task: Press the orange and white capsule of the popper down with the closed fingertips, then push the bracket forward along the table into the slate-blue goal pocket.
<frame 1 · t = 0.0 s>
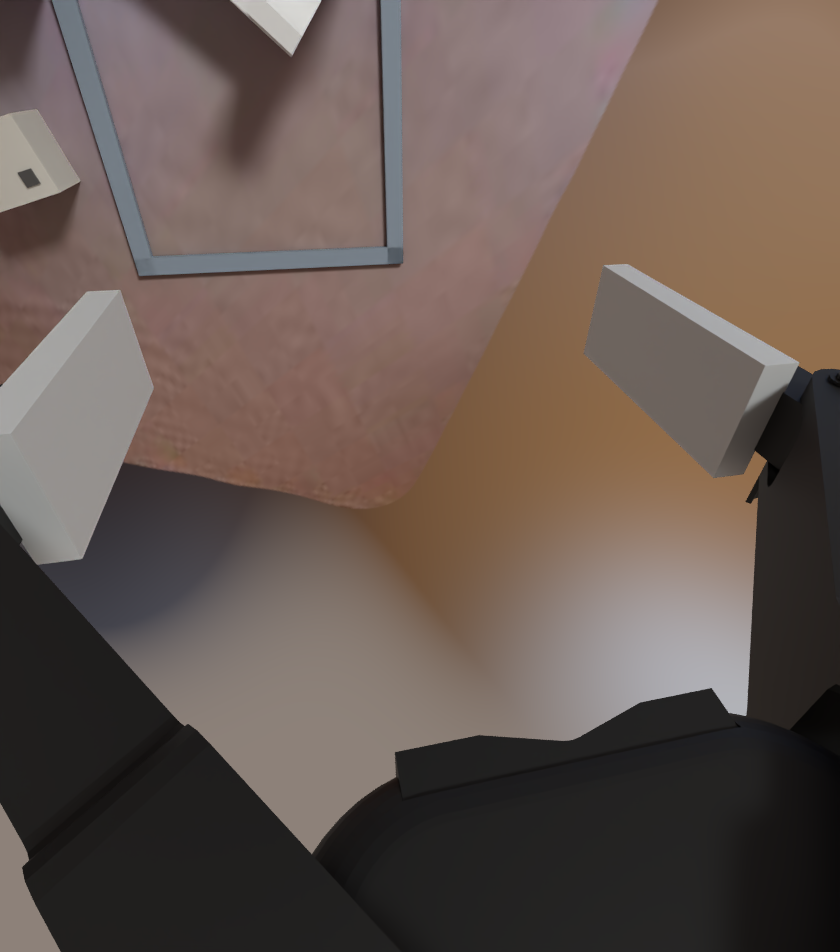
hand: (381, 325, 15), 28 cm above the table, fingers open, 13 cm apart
goal pocket: (253, 117, 33), on the table
die: (30, 156, 33), on the table
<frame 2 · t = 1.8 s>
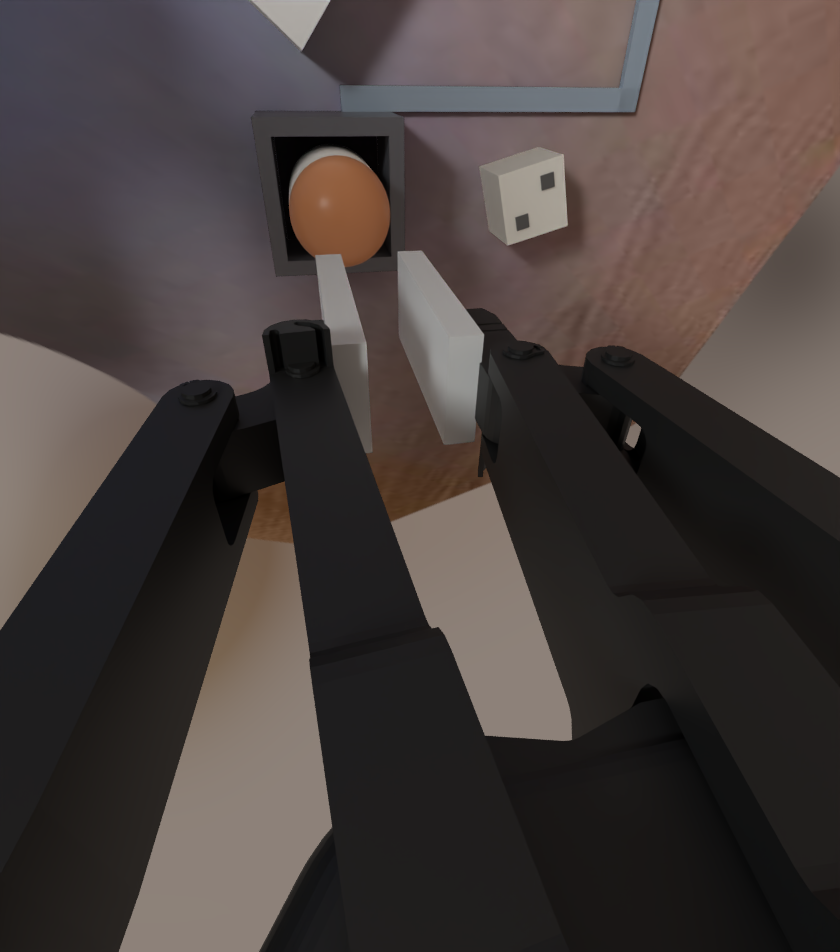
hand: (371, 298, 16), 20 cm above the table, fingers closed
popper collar: (330, 185, 32), on the table
die: (512, 190, 34), on the table
orange and white capsule: (338, 208, 27), point 7 cm above the table, slide at 0.0 cm
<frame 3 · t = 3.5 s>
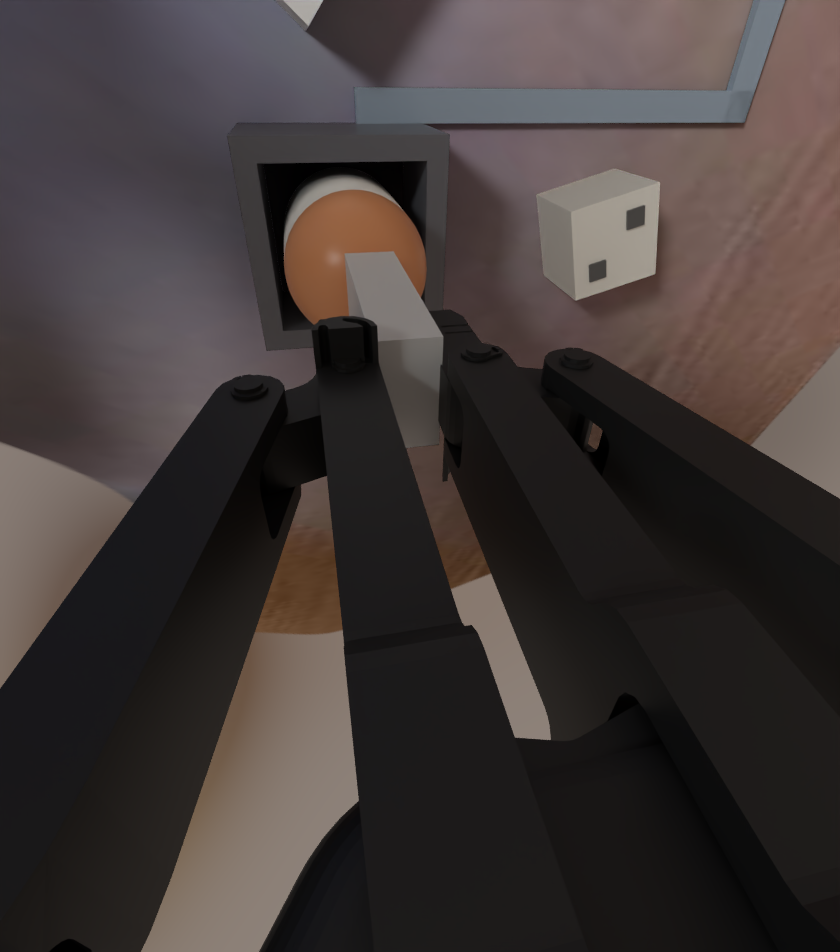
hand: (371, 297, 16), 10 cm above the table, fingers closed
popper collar: (339, 222, 24), on the table
die: (576, 224, 26), on the table
orange and white capsule: (352, 258, 19), point 6 cm above the table, slide at 0.8 cm, touching gripper
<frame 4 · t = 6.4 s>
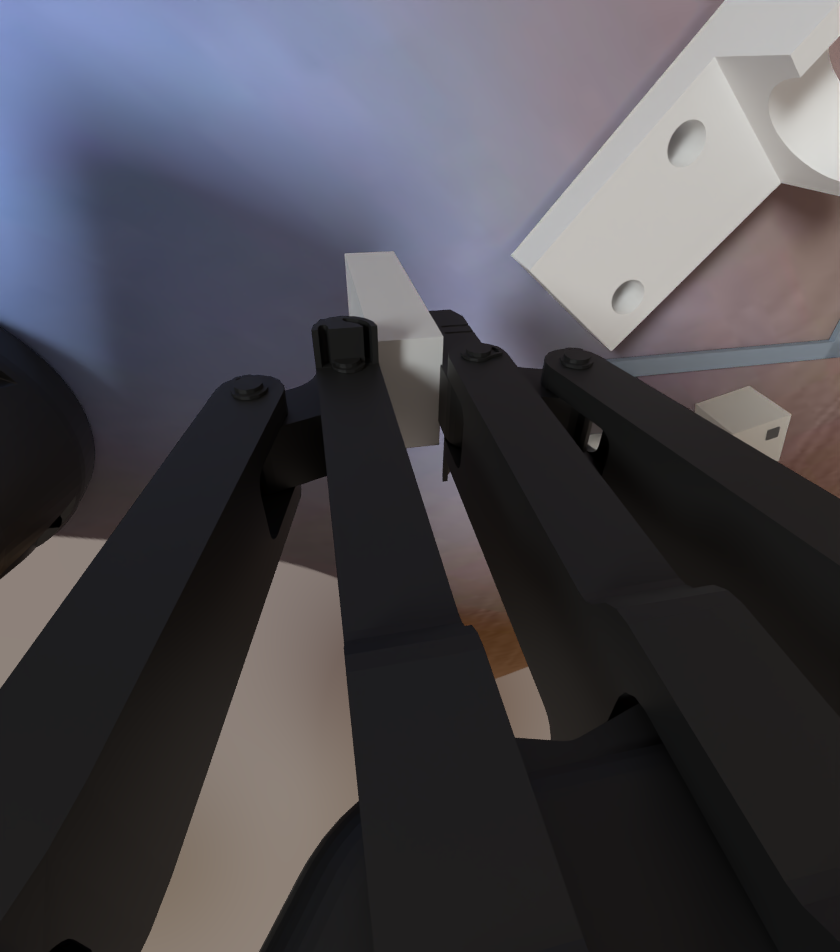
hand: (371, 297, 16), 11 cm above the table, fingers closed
goal pocket: (781, 204, 29), on the table
die: (717, 416, 38), on the table
orange and white capsule: (600, 471, 32), point 5 cm above the table, slide at 2.0 cm
bracket: (635, 188, 27), on the table
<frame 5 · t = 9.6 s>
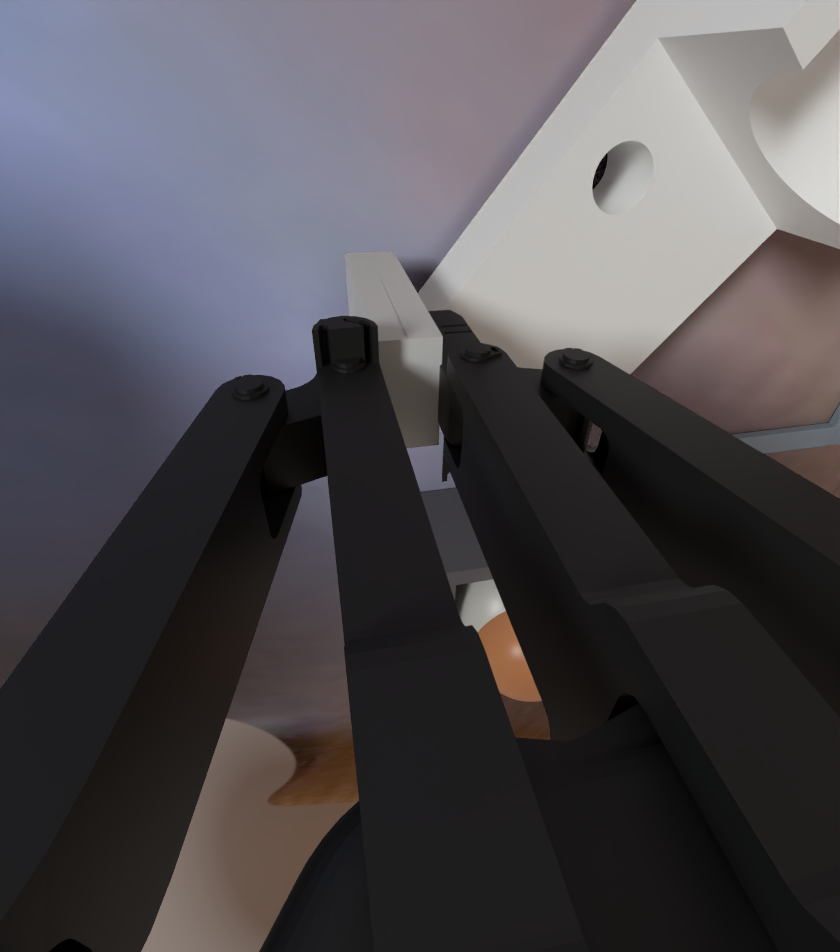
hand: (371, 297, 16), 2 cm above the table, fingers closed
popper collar: (484, 540, 27), on the table
goal pocket: (759, 259, 20), on the table
orange and white capsule: (516, 614, 23), point 5 cm above the table, slide at 2.0 cm
bracket: (564, 235, 19), on the table
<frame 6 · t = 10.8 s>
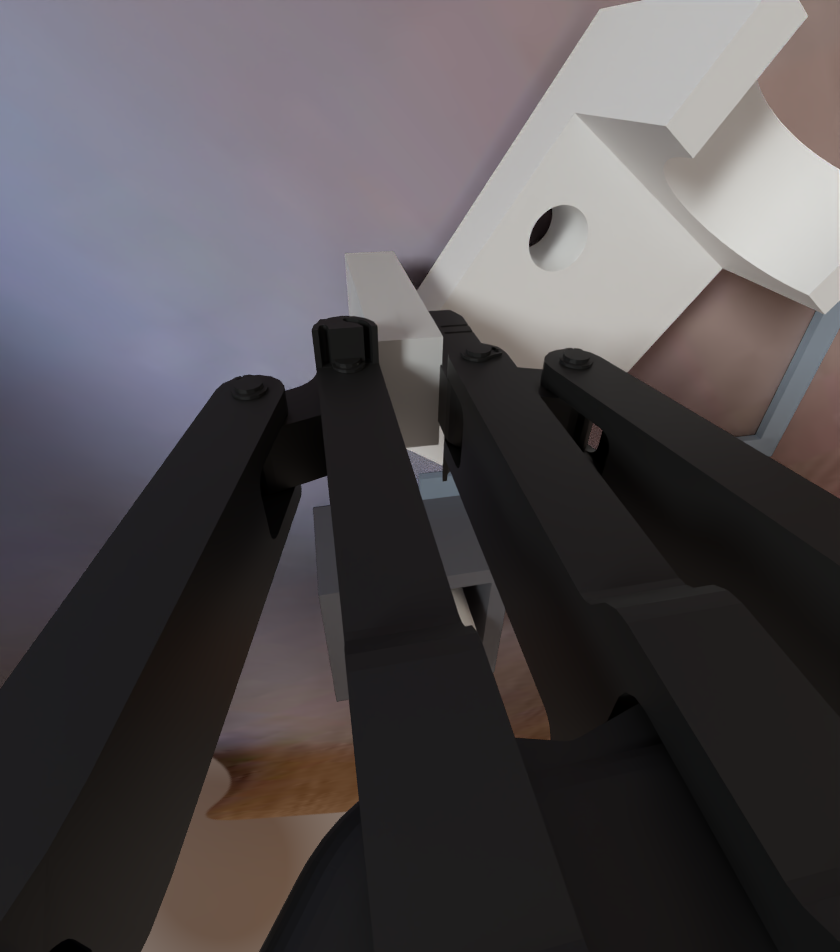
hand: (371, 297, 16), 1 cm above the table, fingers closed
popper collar: (398, 554, 26), on the table
goal pocket: (657, 266, 19), on the table
orange and white capsule: (417, 634, 22), point 5 cm above the table, slide at 2.0 cm
bracket: (521, 279, 19), on the table, touching gripper
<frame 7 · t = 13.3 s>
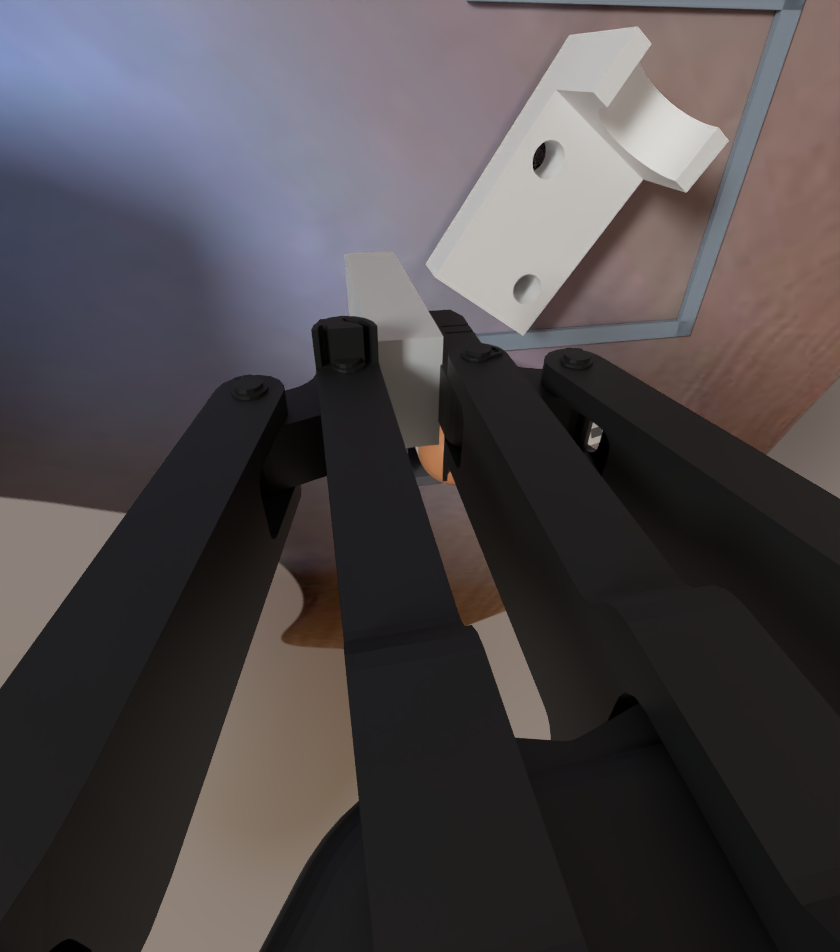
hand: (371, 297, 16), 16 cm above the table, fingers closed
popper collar: (435, 401, 38), on the table
goal pocket: (600, 193, 32), on the table
orange and white capsule: (450, 436, 35), point 5 cm above the table, slide at 2.0 cm
bracket: (528, 195, 31), on the table
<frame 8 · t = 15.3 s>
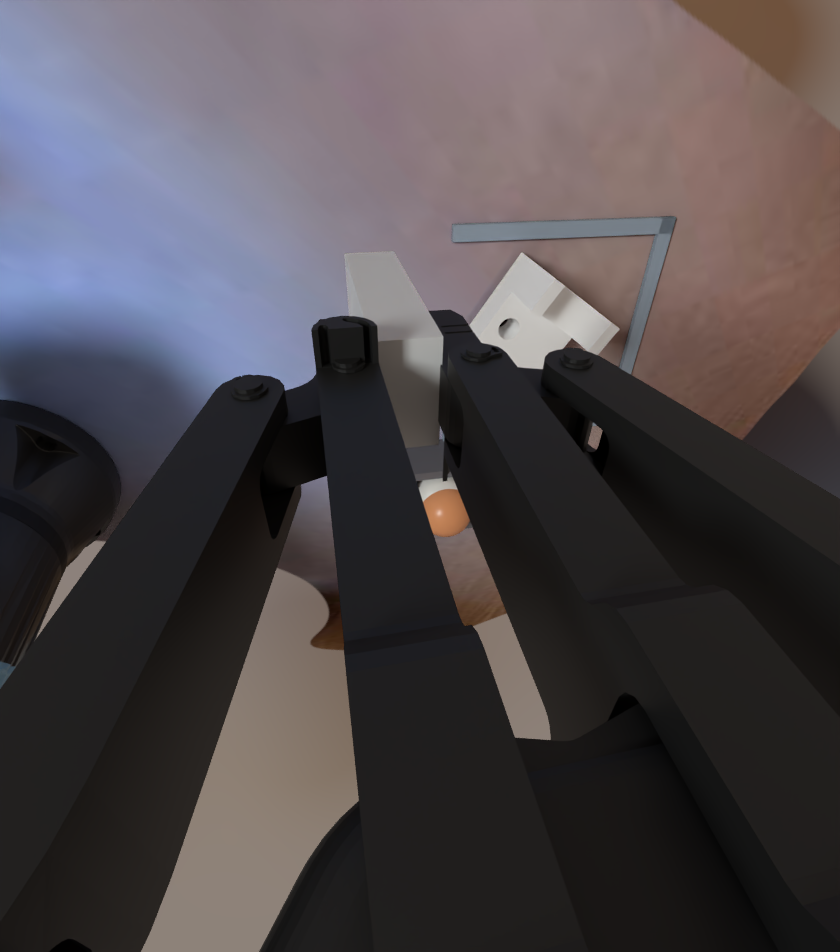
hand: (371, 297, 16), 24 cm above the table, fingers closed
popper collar: (431, 471, 53), on the table
goal pocket: (544, 338, 46), on the table
orange and white capsule: (442, 501, 49), point 5 cm above the table, slide at 2.0 cm
bracket: (498, 336, 46), on the table
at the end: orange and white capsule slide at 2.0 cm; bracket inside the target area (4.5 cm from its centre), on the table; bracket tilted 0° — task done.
